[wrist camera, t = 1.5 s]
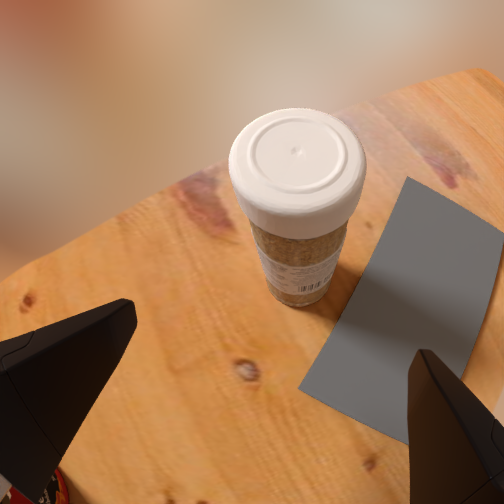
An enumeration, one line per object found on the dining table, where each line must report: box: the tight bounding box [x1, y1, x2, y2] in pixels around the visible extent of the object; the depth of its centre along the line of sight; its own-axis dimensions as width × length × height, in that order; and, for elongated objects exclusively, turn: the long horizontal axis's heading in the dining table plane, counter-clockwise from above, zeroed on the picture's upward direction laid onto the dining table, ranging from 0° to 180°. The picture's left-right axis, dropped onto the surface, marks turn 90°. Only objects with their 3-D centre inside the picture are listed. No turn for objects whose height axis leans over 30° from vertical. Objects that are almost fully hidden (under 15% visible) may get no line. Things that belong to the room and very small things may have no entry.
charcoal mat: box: [298, 176, 504, 445], centre depth 20 cm, size 18×10×1 cm, turn 147°
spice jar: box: [229, 108, 366, 307], centre depth 16 cm, size 5×5×14 cm
